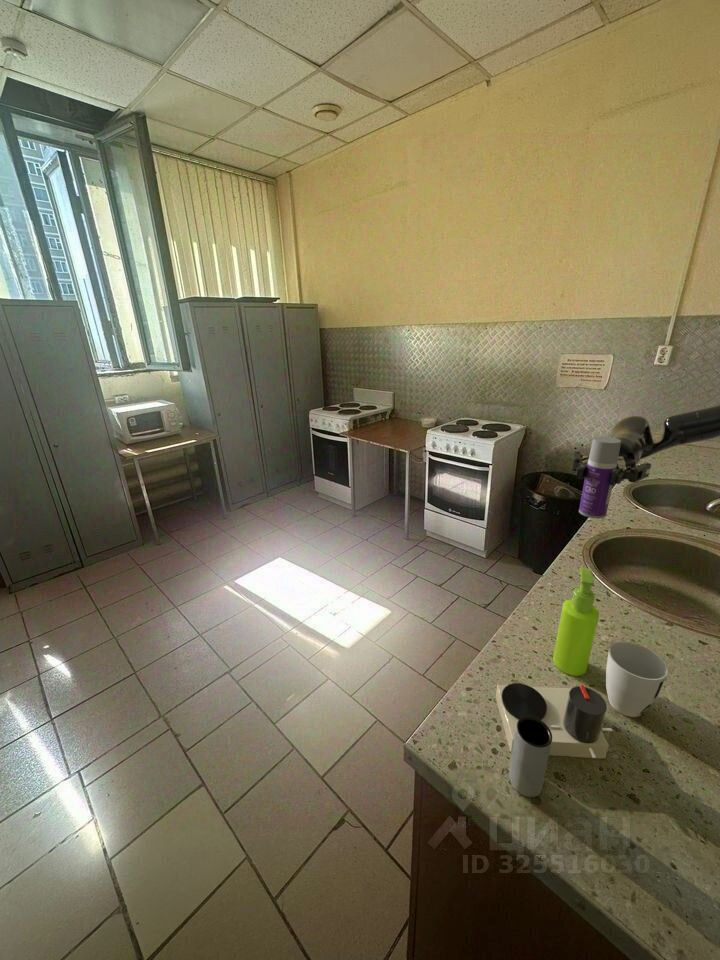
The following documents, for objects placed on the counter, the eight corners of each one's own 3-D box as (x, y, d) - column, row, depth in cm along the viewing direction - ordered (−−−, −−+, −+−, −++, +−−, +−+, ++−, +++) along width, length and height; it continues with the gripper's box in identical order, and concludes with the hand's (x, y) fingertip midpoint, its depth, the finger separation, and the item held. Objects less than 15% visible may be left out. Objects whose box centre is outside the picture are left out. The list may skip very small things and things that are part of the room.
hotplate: (538, 686, 69) (538, 684, 69) (553, 723, 62) (553, 721, 62) (497, 684, 69) (497, 682, 69) (507, 721, 63) (507, 718, 63)
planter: (531, 762, 60) (540, 713, 56) (548, 794, 56) (559, 744, 52) (503, 767, 59) (510, 718, 56) (518, 800, 55) (527, 750, 51)
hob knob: (605, 745, 59) (613, 715, 57) (569, 741, 59) (576, 711, 57) (591, 715, 63) (598, 686, 61) (558, 712, 64) (564, 683, 62)
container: (577, 515, 77) (590, 441, 71) (580, 506, 80) (593, 435, 75) (604, 520, 74) (621, 444, 69) (607, 511, 78) (622, 438, 73)
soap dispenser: (585, 653, 79) (604, 569, 72) (587, 679, 73) (608, 590, 66) (553, 645, 82) (568, 562, 74) (552, 669, 76) (569, 582, 69)
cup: (654, 734, 63) (670, 688, 60) (597, 711, 67) (608, 666, 64) (651, 696, 70) (665, 652, 66) (599, 677, 74) (609, 635, 70)
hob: (586, 701, 69) (589, 688, 68) (623, 774, 58) (628, 759, 57) (495, 697, 70) (497, 684, 69) (514, 767, 59) (516, 752, 58)
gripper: (584, 432, 87) (558, 450, 76) (663, 443, 78) (647, 465, 67) (578, 464, 90) (552, 486, 78) (654, 478, 81) (637, 505, 69)
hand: (596, 476), depth 73 cm, fingers closed on container, 4 cm apart
